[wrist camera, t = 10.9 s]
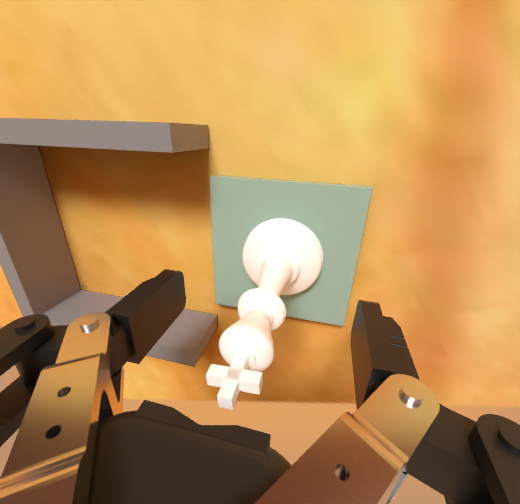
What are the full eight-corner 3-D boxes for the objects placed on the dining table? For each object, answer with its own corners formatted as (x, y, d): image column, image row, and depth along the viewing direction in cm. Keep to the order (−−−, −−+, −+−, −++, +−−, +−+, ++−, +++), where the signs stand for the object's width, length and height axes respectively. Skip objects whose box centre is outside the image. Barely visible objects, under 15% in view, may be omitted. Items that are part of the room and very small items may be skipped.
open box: (207, 125, 15) (169, 122, 11) (217, 327, 21) (194, 366, 17) (15, 119, 18) (-64, 116, 14) (73, 298, 24) (28, 328, 20)
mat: (370, 186, 14) (372, 188, 13) (343, 320, 18) (343, 326, 17) (213, 175, 16) (209, 176, 15) (218, 299, 20) (215, 303, 19)
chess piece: (321, 293, 17) (311, 475, 8) (247, 287, 18) (164, 439, 9) (325, 218, 15) (317, 348, 6) (241, 217, 16) (128, 322, 7)
